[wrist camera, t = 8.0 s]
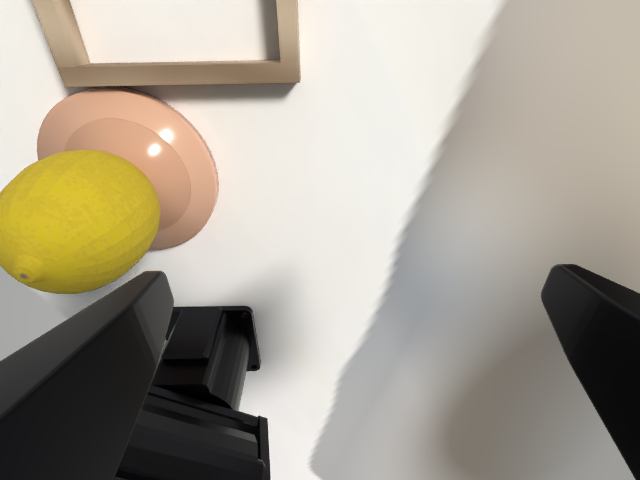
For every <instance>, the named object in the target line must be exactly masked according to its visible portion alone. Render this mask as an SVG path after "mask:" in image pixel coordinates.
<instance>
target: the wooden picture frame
mask: <svg viewBox="0 0 640 480" xmlns="http://www.w3.org/2000/svg"><path fill="white" fill-rule="evenodd" d="M32 1H33V4H34V7H35V9H36V12H37V15H38V17H39V20H40V23H41V25H42V28H43V30H44V33H45V36H46V38H47V41H48V44H49V46H50V49H51V52H52V54H53V57H54V60H55V62H56V65H57V68H58V70H59V73H60V76H61V78H62V81H63V83H64V86H65V87H84V86H139V85H194V84H249V83H300V79H301V75H300V51H299V27H298V3H297V0H276V4H277V19H278V34H279V48H280V60H261V61H207V62H152V63H97V64H90V61H89V58H88V55H87V52H86V49H85V46H84V43H83V40H82V37H81V34H80V31H79V28H78V25H77V22H76V19H75V16H74V13H73V10H72V7H71V4H70V1H69V0H32Z"/></svg>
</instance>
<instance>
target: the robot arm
mask: <svg viewBox="0 0 640 480" xmlns="http://www.w3.org/2000/svg"><path fill="white" fill-rule="evenodd" d="M541 299H542V303H543V305H544V307H545V309H546V312H547V314H548V316H549V319H550V321H551V323H552V326H553V328H554V330H555V332H556V334H557V337H558V339H559V341H560V343H561V346H562V348H563V351H564V353H565V355H566V357H567V359H568V361H569V363H570V365H571V366H572V368H573V370H574V372H575V374H576V376H577V377H578V379H579V381H580V383H581V384H582V386H583V388H584V390H585V391H586V393H587V395H588V397H589V399H590V400H591V402H592V404H593V406H594V407H595V409H596V410H597V413H598V414H599V416H600V418H601V420H602V421H603V423H604V425H605V427H606V428H607V430H608V432H609V434H610V435H611V437H612V439H613V441H614V442H615V444H616V446H617V447H618V450H619V451H620V453H621V455H622V457H623V458H624V460H625V462H626V464H627V465H628V467H629V469H630V471H631V472H632V474H633V476H634V478H635V479H636V480H640V293H637V292H635V291H633V290H631V289H629V288H626V287H624V286H622V285H620V284H617V283H615V282H613V281H611V280H609V279H606V278H604V277H602V276H600V275H597V274H595V273H593V272H591V271H589V270H586V269H584V268H582V267H580V266H577V265H575V264H557V265H555V266H553V267H552V268H551V270H550V272H549V275H548V277H547V280H546V282H545V284H544V287H543V289H542V292H541ZM173 304H174V301H173V296H172V293H171V289H170V286H169V283H168V280H167V277H166V275H165V273H164V272H162V271H146V272H143V273H141V274H140V275H138V276H136V277H135V278H133V279H132V280H130V281H128V282H127V283H125V284H124V285H122V286H120V287H119V288H117V289H116V290H114V291H112V292H111V293H109V294H108V295H106V296H104V297H103V298H101V299H100V300H98V301H96V302H95V303H93V304H92V305H90V306H88V307H87V308H85V309H83V310H82V311H80V312H79V313H77V314H75V315H74V316H72V317H71V318H69V319H67V320H66V321H64V322H63V323H61V324H60V325H58V326H56V327H55V328H53V329H51V330H50V331H48V332H47V333H45V334H43V335H42V336H40V337H39V338H37V339H35V340H34V341H32V342H30V343H29V344H27V345H26V346H24V347H22V348H21V349H19V350H18V351H16V352H14V353H13V354H11V355H10V356H8V357H7V358H5V359H3V360H2V361H0V480H270V459H269V441H268V422H267V418H265V417H261V416H258V417H256V416H253V415H249V414H246V413H243V412H240V411H239V405H240V400H241V395H242V390H243V385H244V380H245V375H246V371H257V370H259V369H260V365H261V360H260V354H259V348H258V342H257V335H256V329H255V323H254V317H253V311H252V309H251V308H250V307H247V306H221V307H173ZM244 313H247V314H244ZM165 337H166V340H167V343H166V345H165V347H164V349H163V352H162V348H163V344H164V340H165ZM161 352H162V354H161ZM160 355H161V358H160ZM159 359H160V360H159Z"/></svg>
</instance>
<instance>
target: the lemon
mask: <svg viewBox="0 0 640 480" xmlns="http://www.w3.org/2000/svg"><path fill="white" fill-rule="evenodd" d="M159 220H160V205H159V199H158V196H157V193H156V191H155V189H154V187H153V185H152V183H151V182H150V180H149V179H148V178H147V176H146V175H145V174H144V173H143V172H142V171H141V170H140V169H138V168H137V167H136V166H135V165H134V164H132V163H130V162H129V161H127V160H125V159H124V158H122V157H119V156H116V155H114V154H111V153H108V152H104V151H97V150H88V149H83V150H73V151H64V152H60V153H57V154H54V155H51V156H49V157H46V158H44V159H42V160H39V161H37V162H35V163H33V164H31V165H30V166H28V167H27V168H25V169H24V170H23V171H21V172H20V173H19V174H18V175H17V176H16V177H15V178H14V179H13V180H12V181H11V182H10V183H9V184H8V185H7V186H6V187H5V188H4V189H3V190H2V191H1V193H0V266H1V267H2V268H3V269H4V270H5V271H6V272H7V273H8V274H9V275H11V276H12V277H14V278H15V279H16V280H18V281H19V282H21V283H23V284H25V285H27V286H29V287H32V288H34V289H37V290H40V291H45V292H51V293H57V294H77V293H82V292H87V291H91V290H95V289H98V288H100V287H102V286H104V285H106V284H108V283H111V282H113V281H114V280H116V279H118V278H119V277H121V276H122V275H124V274H125V273H126V272H127V271H129V270H130V269H131V268H132V267H133V266H134V265H135V264H136V263H137V262H138V261H139V260H140V259H141V258H142V257H143V256H144V255H145V254H146V252H147V251H148V249H149V248H150V246H151V244H152V242H153V240H154V238H155V236H156V233H157V231H158V227H159Z"/></svg>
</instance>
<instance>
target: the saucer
mask: <svg viewBox="0 0 640 480" xmlns="http://www.w3.org/2000/svg"><path fill="white" fill-rule="evenodd" d="M83 149H88V150H97V151H104V152H108V153H111V154H114V155H116V156H119V157H122V158H124V159H125V160H127V161H129V162H130V163H132V164H134V165H135V166H136V167H137V168H138V169H140V170H141V171H142V172H143V173H144V174H145V175H146V176H147V178H148V179H149V180H150V182H151V183H152V185H153V187H154V189H155V191H156V193H157V196H158V199H159V205H160V220H159V227H158V231H157V233H156V236H155V238H154V240H153V242H152V244H151V246H150V248H149V249H148V250H157V249H165V248H170V247H174V246H177V245H180V244H182V243H184V242H186V241H188V240H189V239H191V238H192V237H194V236H195V235H196V234H197V233H198V232H200V231H201V229H202V228H203V227H204V226H205V224H206V223H207V221H208V219H209V217H210V216H211V214H212V212H213V210H214V207H215V204H216V202H217V197H218V186H219V182H218V173H217V169H216V165H215V162H214V159H213V156H212V154H211V152H210V150H209V148H208V146H207V144H206V142H205V141H204V139H203V138H202V136H201V135H200V134H199V132H198V131H197V130H196V129H195V128H194V126H193V125H192V124H191V123H190V122H189V121H188V120H187V119H186V118H185V117H184V116H183V115H181V114H180V113H179V112H178V111H176V110H175V109H174V108H172V107H171V106H170V105H168V104H166V103H164V102H163V101H161V100H159V99H157V98H155V97H153V96H151V95H148V94H146V93H143V92H140V91H137V90H134V89H128V88H123V87H109V86H108V87H97V88H93V89H89V90H85V91H82V92H79V93H76V94H73V95H71V96H69V97H67V98H65V99H63V100H62V101H60V102H59V103H57V104H56V105H55V106H54V107H53V108H52V109H51V110H50V111H49V113H48V114H47V116H46V117H45V119H44V120H43V123H42V125H41V127H40V130H39V135H38V140H37V154H38V161H39V160H42V159H44V158H46V157H49V156H51V155H54V154H57V153H60V152H64V151H73V150H83Z"/></svg>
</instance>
